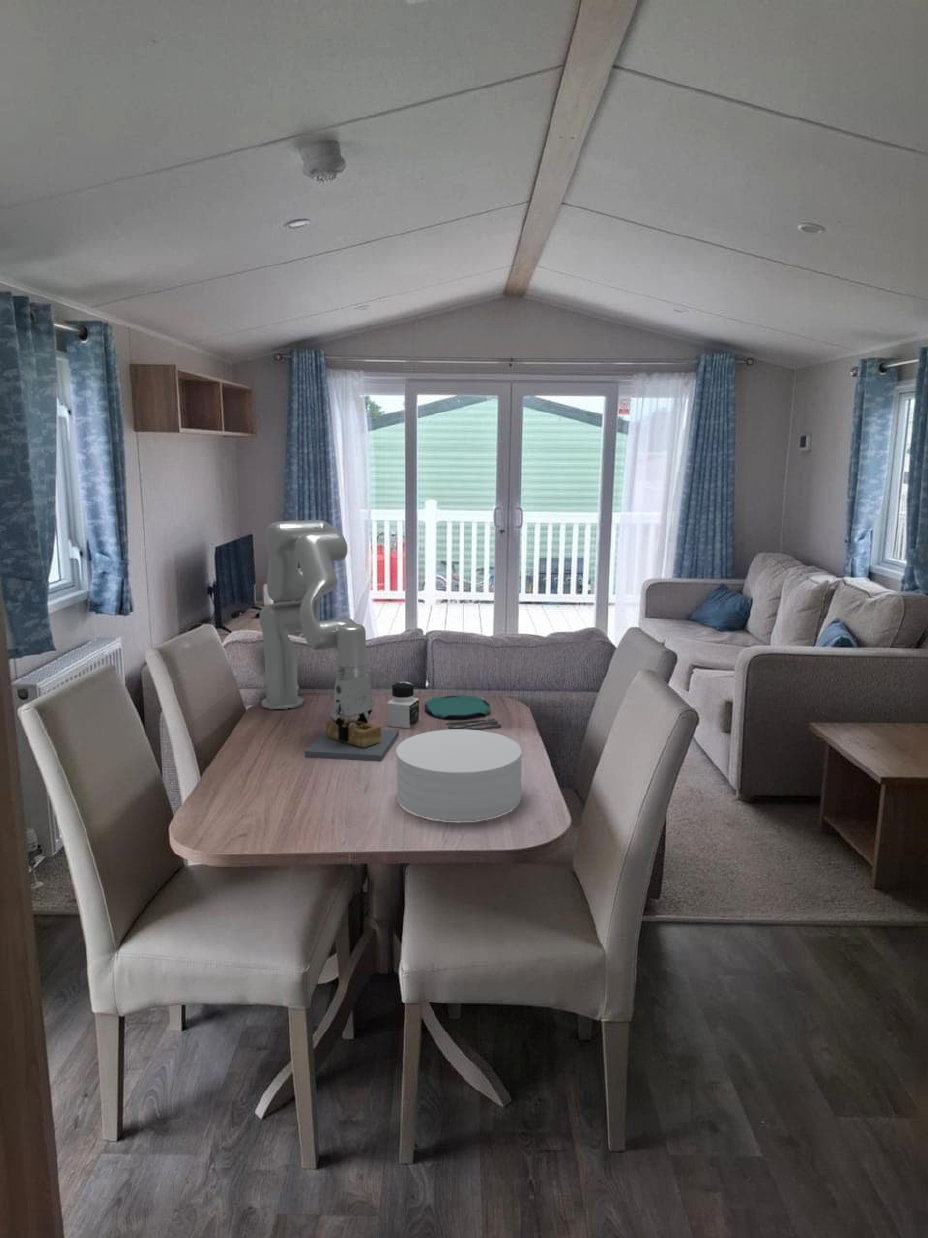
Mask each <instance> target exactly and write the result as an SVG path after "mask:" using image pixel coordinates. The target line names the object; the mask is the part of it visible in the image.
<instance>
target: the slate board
mask: <svg viewBox="0 0 928 1238" xmlns="http://www.w3.org/2000/svg"><path fill="white" fill-rule="evenodd" d="M399 736H400V730H398V729H384V728H381V741H380V742H378V743H375V744H372V745H370V746H367V747H364V748H363V747H360V746H356V745H353V744H350V743H346V742H343V741H340V740H337V739H333V738H330V737H327V736H326V729H325V730H323V732H322V733H321V734H320V735H319V736H318V737H317V738H316V739H315V740H314V741H313V742H312V743H311V744H310V745H309V746H308V747H307V748H306V749H305V750H304V757H305V758H307V757H308V758H322V759H323V758H325V759H338V760H339V759H340V760H354V759H356V760H357V761H373V762H376V761H377V762H382V761H383V759H384V758H385V757H386V755H387V754H388V752H390V751H389V750H390V749H392V747H393V745H394V743H395V742H396V740H397V739H398V738H399Z"/></svg>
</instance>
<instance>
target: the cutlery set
mask: <svg viewBox="0 0 928 1238" xmlns="http://www.w3.org/2000/svg"><path fill="white" fill-rule="evenodd" d="M424 703H425V704H423V705H424V711H426V712H428V713H429V714H432V715H433V716H434V717H435V718H439V719H445V718H456V719H458V718H460V719H461V718H469V717H476V716H478V715H482V714H484V715H485V717H487V716H488V715H489V713H490V712H491V705H490V702H487V701H486V700H485V699H482V698H481V697H478V696H472V695H465V694H464V695H449V696H448V695H447V696H441V697H438V696H436V697H432V698H430V699H428V700H426V701H424ZM468 723H469V724H468ZM470 723H471V724H470ZM490 724H492V725H490ZM445 725H448V727H449V728H450V729H466V730H479V731H484V730H492V729H502V724H498V720H496V719H495V718H489V719H476V718H475V719H470V720H460V721H448V722H446V723H445ZM480 725H487V726H482V727H475V726H480ZM488 725H489V726H488ZM460 726H461V727H460Z"/></svg>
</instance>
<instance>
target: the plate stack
mask: <svg viewBox="0 0 928 1238" xmlns="http://www.w3.org/2000/svg"><path fill="white" fill-rule="evenodd" d="M395 751H396V754H395V755H396V761H395V762H396V801H397V800H398V801H399V803H400V804H401V805H402V806H403V807H405V808H406V809H408V810H410V811H412V812H414V813H416V814H418V815H421V816H424V817H429V818H433V819H439V820H445V821H476V820H482V819H487V818H491V817H495V816H498V815H501V814H503V813H506V812H508V811H510V810H511V809H513V808H514V807H516V805H517V804H518V803H519V802H520V803H521V801H520V799H522V793H521V791H522V781H521V780H522V756H523V755H522V752H523V751H522V748H521V746H520V744H519V743H518V742H517V741H515V740H513V739H512V738H510V737H508V736H506V735H502V734H500V733H495V732H490V731H484V730H466V729H463V728H462V729H453V728H450V729H439V730H433V731H432V730H431V731H426V732H423V733H419V734H415V735H412V736H410V737H408V738H406V739H404V740H403V741H401V742H400V743H399V744H398V745H397V747H396V750H395Z"/></svg>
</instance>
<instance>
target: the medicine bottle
mask: <svg viewBox="0 0 928 1238" xmlns="http://www.w3.org/2000/svg"><path fill="white" fill-rule="evenodd" d="M391 690H392V692H391V693H392V694H391V699H390V700H389V701H387V702H386V723H387V724H386V725H387V727H391V728H401V729H412V728H413V727H414V726H415V725H417V723H419V721H420V699H419V698H418V697H415V696H414V693H415V692H414V685H413V683H411V682H408V681H407V682H406V681H401V682H400V681H399V682H395V683H394V684H392V686H391Z"/></svg>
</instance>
